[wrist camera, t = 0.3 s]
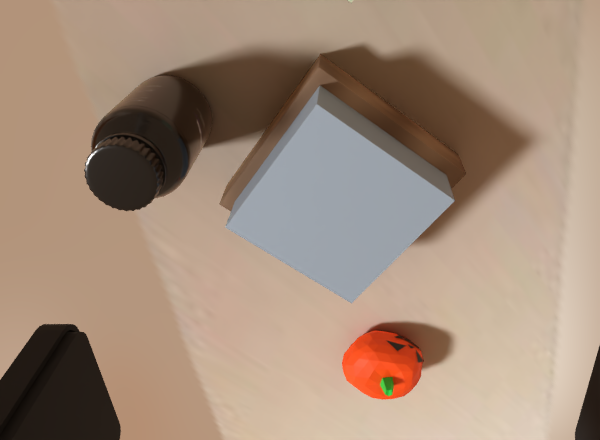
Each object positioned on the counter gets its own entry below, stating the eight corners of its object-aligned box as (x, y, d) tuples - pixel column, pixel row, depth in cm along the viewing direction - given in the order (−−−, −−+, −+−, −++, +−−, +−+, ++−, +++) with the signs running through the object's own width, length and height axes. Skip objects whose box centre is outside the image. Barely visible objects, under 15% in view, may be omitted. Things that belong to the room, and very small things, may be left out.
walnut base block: (228, 181, 48) (219, 204, 44) (320, 51, 41) (318, 66, 38) (353, 260, 51) (354, 286, 48) (456, 152, 45) (466, 173, 41)
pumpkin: (343, 319, 55) (344, 359, 49) (422, 323, 55) (431, 365, 49) (340, 374, 58) (339, 418, 52) (414, 379, 58) (422, 424, 52)
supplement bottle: (230, 129, 44) (195, 201, 34) (165, 164, 47) (114, 241, 36) (181, 56, 42) (128, 110, 31) (114, 96, 44) (44, 160, 34)
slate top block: (234, 201, 44) (225, 227, 41) (319, 85, 38) (316, 104, 35) (351, 273, 47) (351, 303, 44) (446, 175, 41) (455, 200, 38)
